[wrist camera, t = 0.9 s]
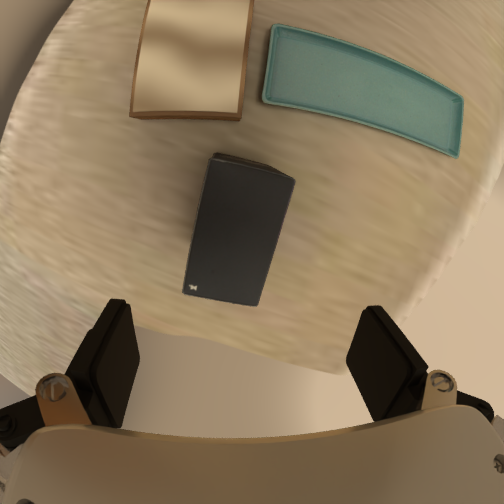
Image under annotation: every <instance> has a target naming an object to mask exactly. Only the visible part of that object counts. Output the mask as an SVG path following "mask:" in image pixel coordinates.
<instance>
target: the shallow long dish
mask: <svg viewBox="0 0 504 504" xmlns="http://www.w3.org/2000/svg"><path fill="white" fill-rule="evenodd" d="M262 101H263V102H264V103H266V104H272V105H279V106H285V107H291V108H296V109H302V110H307V111H311V112H316V113H321V114H325V115H329V116H334V117H338V118H342V119H346V120H350V121H353V122H357V123H360V124H364V125H367V126H371V127H374V128H377V129H380V130H383V131H386V132H389V133H393V134H395V135H398V136H401V137H404V138H407V139H409V140H412V141H415V142H417V143H420V144H423V145H425V146H428V147H430V148H433V149H435V150H437V151H440V152H442V153H444V154H447V155H449V156H451V157H453V158H455V159H457V158H458V157H459V153H460V144H461V135H462V125H463V109H464V99H463V97H462V96H461V95H460V94H458V93H456V92H455V91H453V90H451V89H450V88H448V87H446V86H444V85H443V84H441V83H439V82H437V81H436V80H434V79H432V78H430V77H428V76H426V75H424V74H422V73H420V72H418V71H416V70H415V69H413V68H410V67H408V66H406V65H404V64H402V63H400V62H398V61H395V60H393V59H391V58H389V57H386V56H384V55H382V54H379V53H376V52H374V51H372V50H369V49H367V48H364V47H361V46H358V45H355V44H352V43H349V42H346V41H343V40H340V39H337V38H334V37H330V36H327V35H323V34H320V33H316V32H312V31H309V30H304V29H300V28H296V27H292V26H287V25H283V24H273V25H272V27H271V34H270V43H269V51H268V59H267V67H266V73H265V79H264V86H263V91H262Z"/></svg>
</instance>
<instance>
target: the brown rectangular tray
mask: <svg viewBox="0 0 504 504" xmlns="http://www.w3.org/2000/svg"><path fill="white" fill-rule="evenodd" d="M253 6H254V0H148V3H147V7H146V11H145V15H144V19H143V24H142V29H141V34H140V39H139V44H138V50H137V56H136V62H135V69H134V77H133V84H132V93H131V103H130V114H129V117H133V118H138V119H212V120H230V121H240V119H241V115H242V105H243V95H244V85H245V75H246V66H247V57H248V48H249V39H250V30H251V22H252V14H253Z"/></svg>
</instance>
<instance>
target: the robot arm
mask: <svg viewBox="0 0 504 504" xmlns="http://www.w3.org/2000/svg"><path fill="white" fill-rule="evenodd" d="M139 362H140V355H139V350H138V345H137V340H136V335H135V330H134V324H133V319H132V313H131V307H130V304H126V301H125V300H122V299H110V300H109V302H108V303H107V305H106V307H105V308H104V310H103V312H102V313H101V315H100V317H99V318H98V320H97V322H96V323H95V325H94V327H93V329H90V330H89V331H88V332H87V334H86V336H85V338H84V339H83V341H82V343H81V345H80V346H79V348H78V350H77V352H76V354H75V356H74V357H73V359H72V361H71V363H70V365H69V367H68V369H67V371H66V373H65V374H61V373H51V374H48V375H46V376H44V377H43V378H41V379H40V380H39V382H38V383H37V385H36V389H35V391H36V395H35V396H32V397H30V398H27V399H25V400H22V401H20V402H17V403H15V404H12V405H9V406H7V407H4V408H2V409H0V504H504V419H502V418H501V417H499V416H498V415H496V416H495V417H494V411H493V409H492V407H491V406H490V404H489V403H487V402H486V401H484V400H482V399H479V398H476V397H473V396H471V395H468V394H465V393H462V392H460V391H457V384H456V381H455V379H454V378H453V377H452V376H451V375H450V374H449V373H447V372H445V371H442V370H433V371H431V372H430V373H429V374H428V373H427V372H426V370H427V369H428V365H427V364H426V363H425V361H424V360H423V359H422V357H421V356H420V355H419V353H418V352H417V351H416V349H415V348H414V347H413V345H412V344H411V343H410V342H409V340H408V339H407V338H406V336H405V335H404V334H403V332H402V331H401V330H400V329H399V327H398V326H397V325H396V324H395V322H394V321H393V320H392V319H391V317H390V316H389V315H388V314H387V312H386V311H385V310H384V309H383V308H382V306H379V305H378V306H367V307H366V309H364V310H363V311H362V314H361V317H360V320H359V323H358V326H357V329H356V332H355V335H354V337H353V340H352V343H351V346H350V349H349V351H348V354H347V357H346V364H347V366H348V368H349V370H350V372H351V374H352V376H353V378H354V381H355V382H356V385H357V387H358V389H359V391H360V393H361V395H362V397H363V400H364V402H365V404H366V406H367V408H368V410H369V412H370V415H371V417H372V419H373V421H374V422H372V423H368V424H363V425H359V426H353V427H348V428H342V429H337V430H330V431H324V432H317V433H309V434H300V435H291V436H279V437H262V438H200V437H183V436H172V435H161V434H153V433H145V432H137V431H130V430H124V429H118V428H121V426H122V423H123V419H124V415H125V411H126V408H127V404H128V400H129V397H130V393H131V390H132V386H133V383H134V379H135V375H136V372H137V369H138V366H139Z"/></svg>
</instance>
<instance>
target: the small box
mask: <svg viewBox="0 0 504 504" xmlns="http://www.w3.org/2000/svg"><path fill="white" fill-rule="evenodd" d="M295 182H296V181H295V179H294V178H292V177H290V176H288V175H286V174H284V173H282V172H280V171H278V170H277V169H275V168H273V167H271V166H269V165H265V164H262V163H258V162H254V161H251V160H247V159H243V158H238V157H234V156H230V155H226V154H221V153H214V154H213V157H212V158H210V159H209V162H208V166H207V170H206V174H205V178H204V183H203V187H202V191H201V196H200V200H199V205H198V209H197V214H196V219H195V223H194V229H193V234H192V238H191V244H190V249H189V254H188V260H187V265H186V271H185V277H184V283H183V289H182V293H183V294H184V295H188V296H194V297H200V298H205V299H210V300H216V301H222V302H228V303H233V304H239V305H246V306H252V307H257V306H258V303H259V300H260V296H261V293H262V290H263V287H264V284H265V280H266V277H267V274H268V271H269V267H270V264H271V261H272V258H273V254H274V251H275V248H276V245H277V241H278V238H279V235H280V232H281V228H282V225H283V222H284V218H285V215H286V212H287V208H288V205H289V202H290V199H291V195H292V192H293V189H294V185H295Z"/></svg>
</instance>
